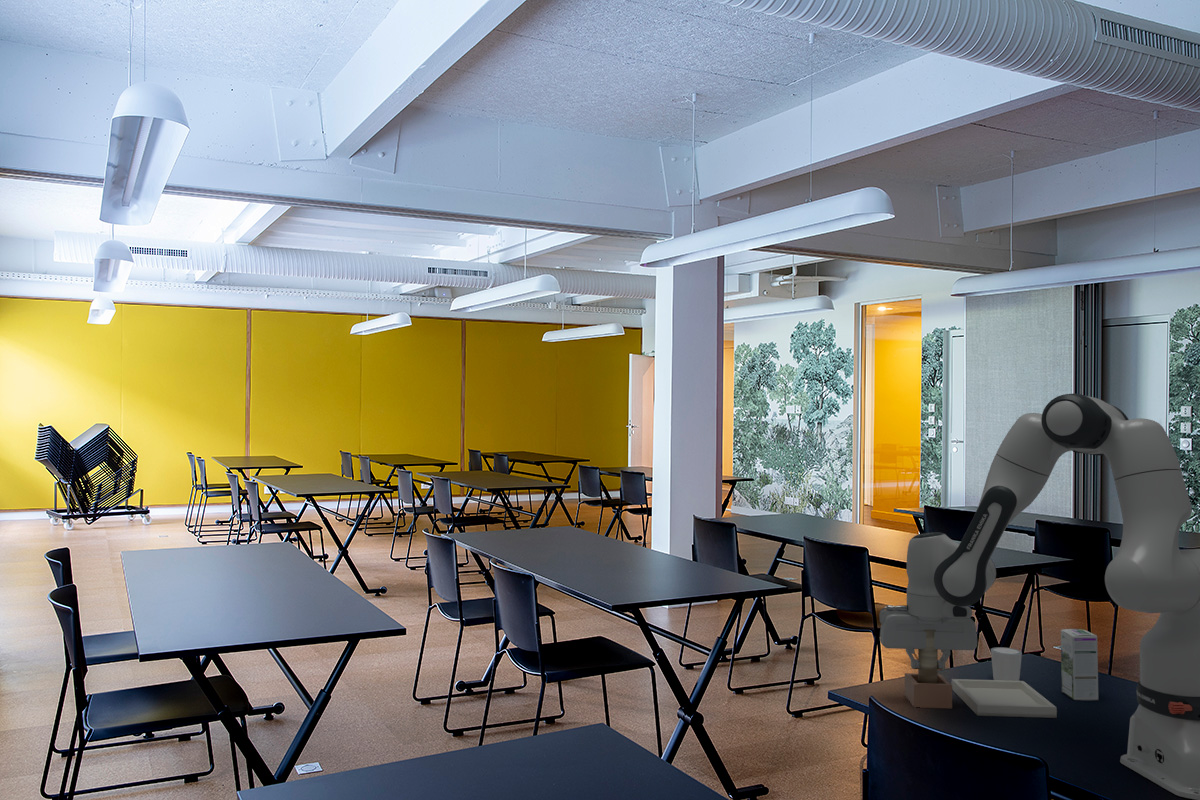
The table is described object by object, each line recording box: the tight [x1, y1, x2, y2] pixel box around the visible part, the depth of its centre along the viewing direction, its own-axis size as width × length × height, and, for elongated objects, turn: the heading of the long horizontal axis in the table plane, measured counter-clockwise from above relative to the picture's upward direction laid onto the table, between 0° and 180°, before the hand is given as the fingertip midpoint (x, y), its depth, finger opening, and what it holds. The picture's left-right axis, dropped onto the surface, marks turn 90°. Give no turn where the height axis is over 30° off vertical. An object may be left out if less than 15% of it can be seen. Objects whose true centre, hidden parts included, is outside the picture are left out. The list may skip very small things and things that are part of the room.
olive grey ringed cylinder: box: [917, 630, 939, 684], centre depth 197 cm, size 4×4×16 cm
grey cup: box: [990, 646, 1023, 681], centre depth 213 cm, size 7×7×7 cm
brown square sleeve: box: [904, 672, 953, 710], centre depth 197 cm, size 8×8×5 cm
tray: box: [951, 678, 1058, 719], centre depth 196 cm, size 18×16×2 cm
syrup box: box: [1060, 628, 1099, 701], centre depth 201 cm, size 6×6×14 cm
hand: (927, 668), depth 197 cm, fingers closed on olive grey ringed cylinder, 4 cm apart
